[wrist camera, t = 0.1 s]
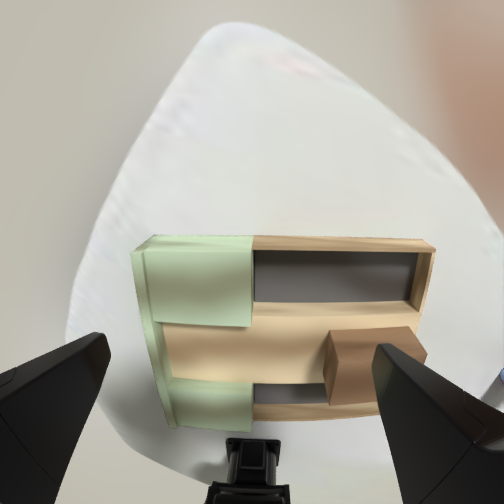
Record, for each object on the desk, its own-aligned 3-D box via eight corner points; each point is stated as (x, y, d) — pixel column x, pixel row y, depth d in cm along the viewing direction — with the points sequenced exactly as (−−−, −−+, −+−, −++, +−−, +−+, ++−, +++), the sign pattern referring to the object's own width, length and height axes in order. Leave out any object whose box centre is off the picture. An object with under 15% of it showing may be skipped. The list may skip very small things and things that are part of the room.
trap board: (381, 397, 28) (391, 427, 24) (179, 397, 29) (169, 427, 25) (421, 239, 22) (448, 257, 18) (153, 234, 23) (130, 253, 19)
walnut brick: (396, 367, 23) (410, 396, 20) (322, 372, 24) (329, 405, 20) (408, 325, 22) (427, 353, 18) (329, 330, 22) (338, 361, 19)
